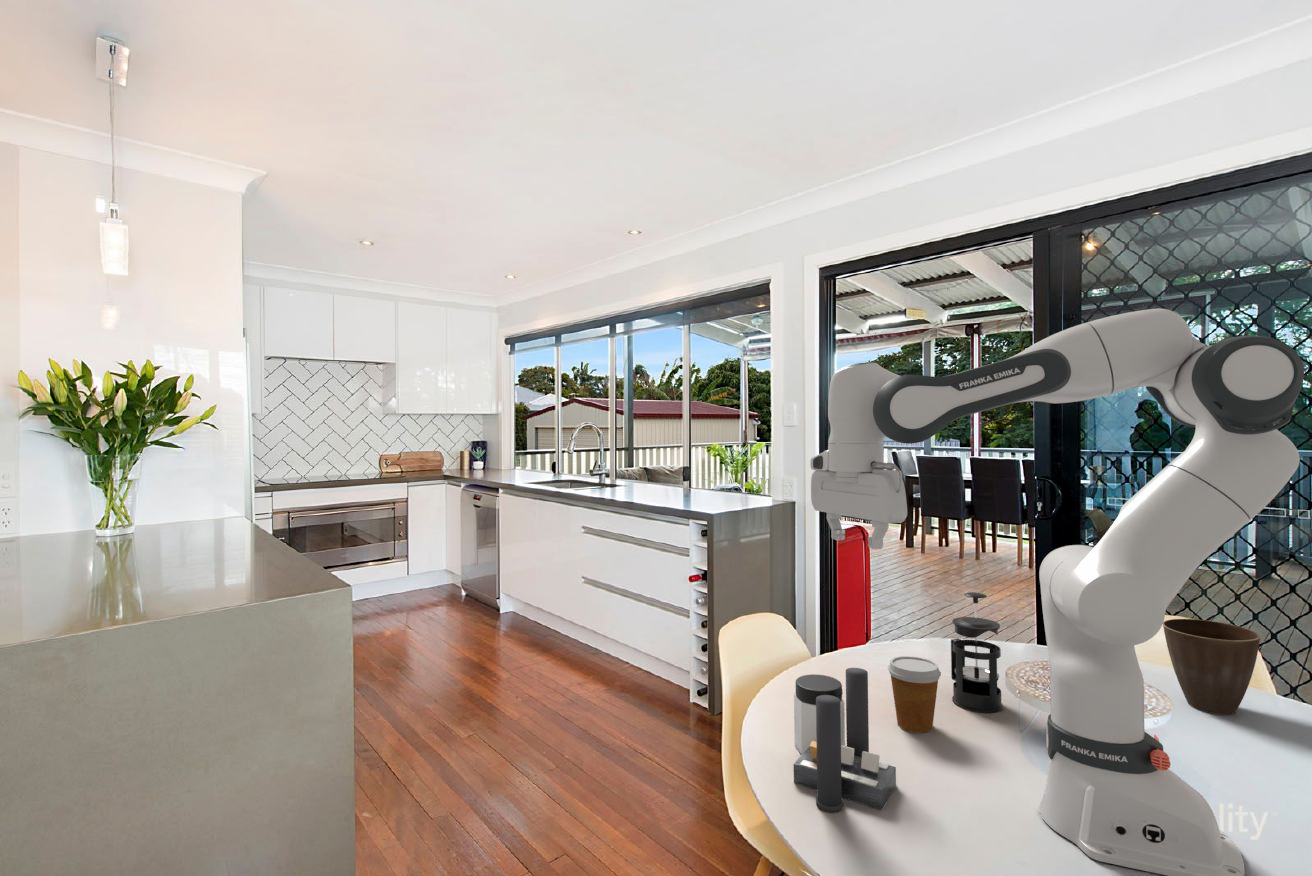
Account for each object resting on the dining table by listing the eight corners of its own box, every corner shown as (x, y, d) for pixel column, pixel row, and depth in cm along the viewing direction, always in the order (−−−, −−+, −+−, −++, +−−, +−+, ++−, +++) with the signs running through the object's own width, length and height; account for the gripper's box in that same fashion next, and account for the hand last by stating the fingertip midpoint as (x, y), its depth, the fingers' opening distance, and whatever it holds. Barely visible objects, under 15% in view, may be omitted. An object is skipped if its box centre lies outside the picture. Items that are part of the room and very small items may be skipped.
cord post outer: (846, 803, 97) (845, 698, 97) (838, 815, 94) (836, 707, 94) (821, 794, 99) (820, 692, 99) (812, 807, 96) (810, 701, 96)
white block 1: (853, 764, 102) (854, 748, 103) (850, 765, 101) (852, 749, 102) (838, 760, 104) (839, 744, 104) (836, 761, 103) (837, 745, 103)
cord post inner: (873, 763, 109) (871, 670, 109) (866, 774, 105) (864, 677, 105) (850, 757, 111) (848, 665, 111) (842, 767, 108) (841, 672, 108)
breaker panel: (896, 785, 102) (895, 765, 102) (882, 810, 95) (881, 788, 95) (811, 761, 110) (811, 743, 110) (793, 782, 103) (793, 762, 103)
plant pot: (1254, 731, 119) (1252, 645, 119) (1155, 706, 130) (1154, 628, 130) (1267, 709, 128) (1266, 629, 128) (1174, 687, 140) (1172, 614, 140)
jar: (819, 766, 108) (818, 695, 108) (785, 747, 115) (784, 680, 115) (854, 751, 113) (853, 684, 113) (819, 734, 120) (818, 670, 120)
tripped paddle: (828, 756, 104) (826, 744, 104) (825, 761, 103) (823, 749, 103) (814, 752, 106) (812, 740, 105) (811, 757, 105) (809, 745, 104)
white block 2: (878, 771, 100) (879, 755, 101) (876, 772, 99) (877, 755, 100) (863, 767, 101) (864, 751, 102) (860, 768, 100) (862, 751, 101)
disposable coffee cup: (890, 733, 120) (889, 669, 120) (887, 712, 129) (886, 653, 129) (945, 740, 117) (944, 674, 117) (938, 718, 126) (937, 657, 126)
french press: (1016, 711, 129) (1014, 597, 129) (978, 717, 126) (976, 601, 126) (972, 689, 140) (970, 585, 140) (936, 694, 137) (935, 588, 137)
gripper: (917, 462, 97) (917, 553, 97) (833, 458, 116) (833, 534, 116) (884, 463, 95) (884, 556, 95) (804, 459, 114) (804, 536, 114)
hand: (856, 543), depth 106 cm, fingers open, 8 cm apart
